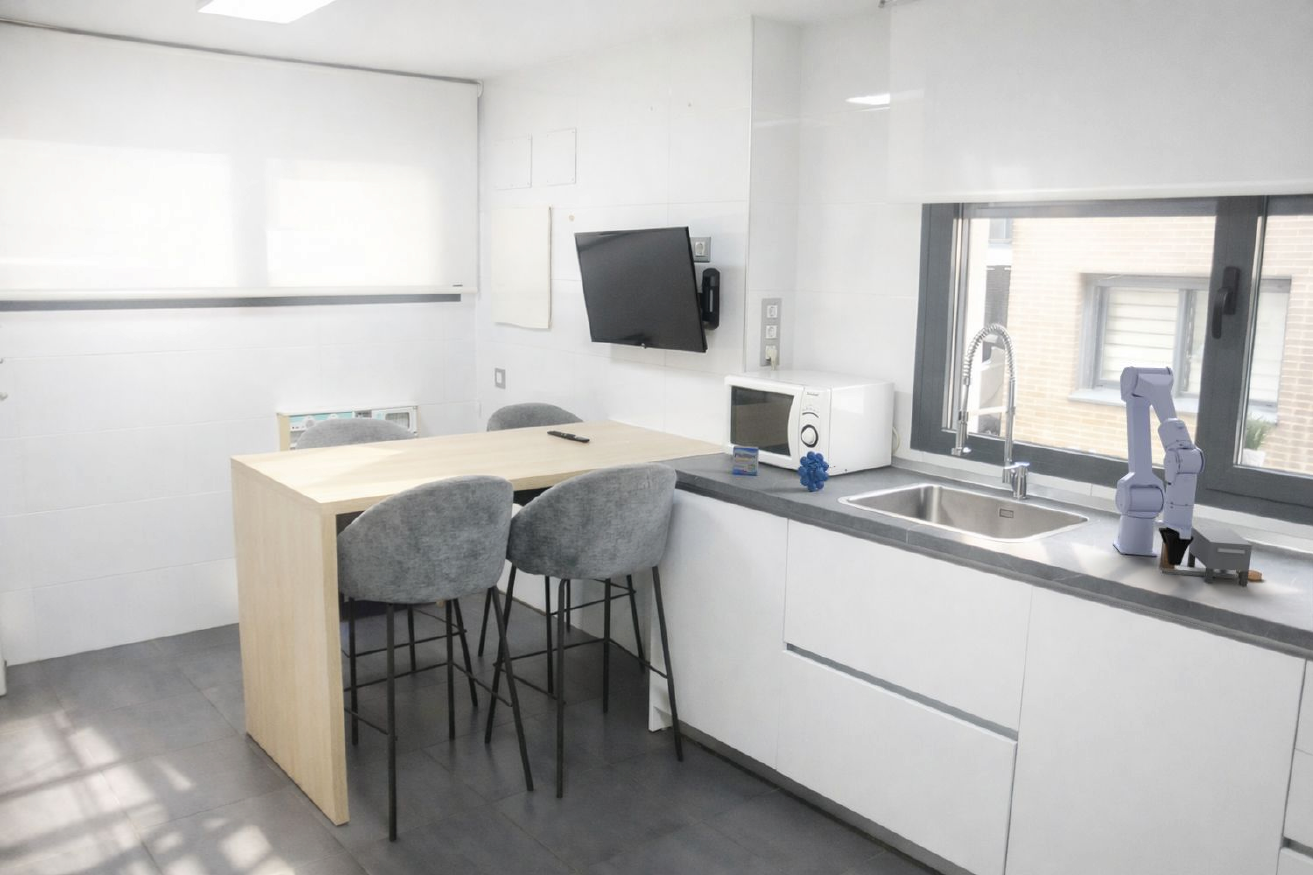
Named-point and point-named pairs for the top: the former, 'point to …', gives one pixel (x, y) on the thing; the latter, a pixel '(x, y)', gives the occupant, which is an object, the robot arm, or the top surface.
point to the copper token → (1252, 575)
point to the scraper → (1173, 569)
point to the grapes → (813, 471)
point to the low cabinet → (1220, 552)
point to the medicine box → (745, 460)
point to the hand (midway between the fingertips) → (1172, 562)
